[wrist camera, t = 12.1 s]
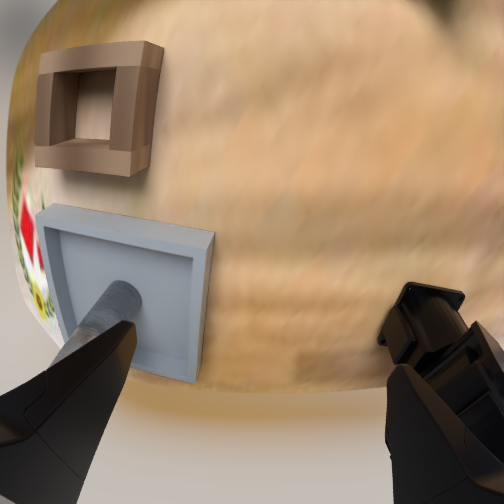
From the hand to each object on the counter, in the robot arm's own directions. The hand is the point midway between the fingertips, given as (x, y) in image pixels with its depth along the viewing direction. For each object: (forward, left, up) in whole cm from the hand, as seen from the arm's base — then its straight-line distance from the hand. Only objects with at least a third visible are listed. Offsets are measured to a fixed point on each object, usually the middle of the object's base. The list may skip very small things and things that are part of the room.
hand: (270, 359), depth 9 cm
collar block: (+13, -6, -12) cm, 19 cm away
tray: (+11, +9, -12) cm, 19 cm away
